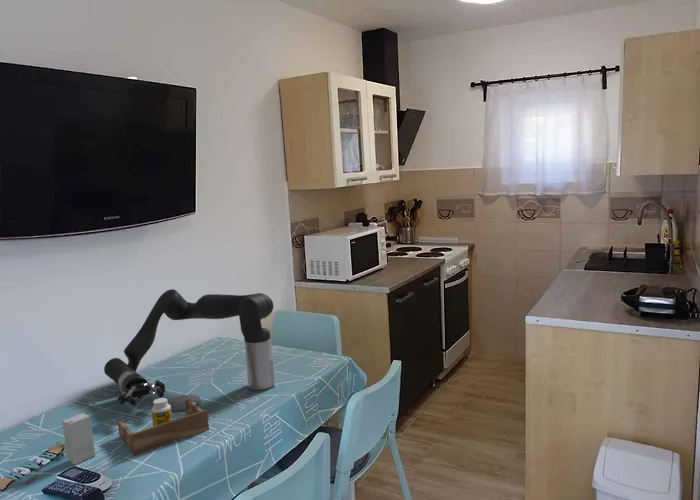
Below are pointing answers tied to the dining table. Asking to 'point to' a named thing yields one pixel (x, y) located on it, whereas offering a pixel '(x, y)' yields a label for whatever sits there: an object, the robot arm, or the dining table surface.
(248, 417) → the dining table surface
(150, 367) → the dining table surface
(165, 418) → the supplement bottle
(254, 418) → the dining table surface
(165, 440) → the brown wooden u-shaped piece
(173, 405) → the slate pad
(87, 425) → the skincare box
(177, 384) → the dining table surface
